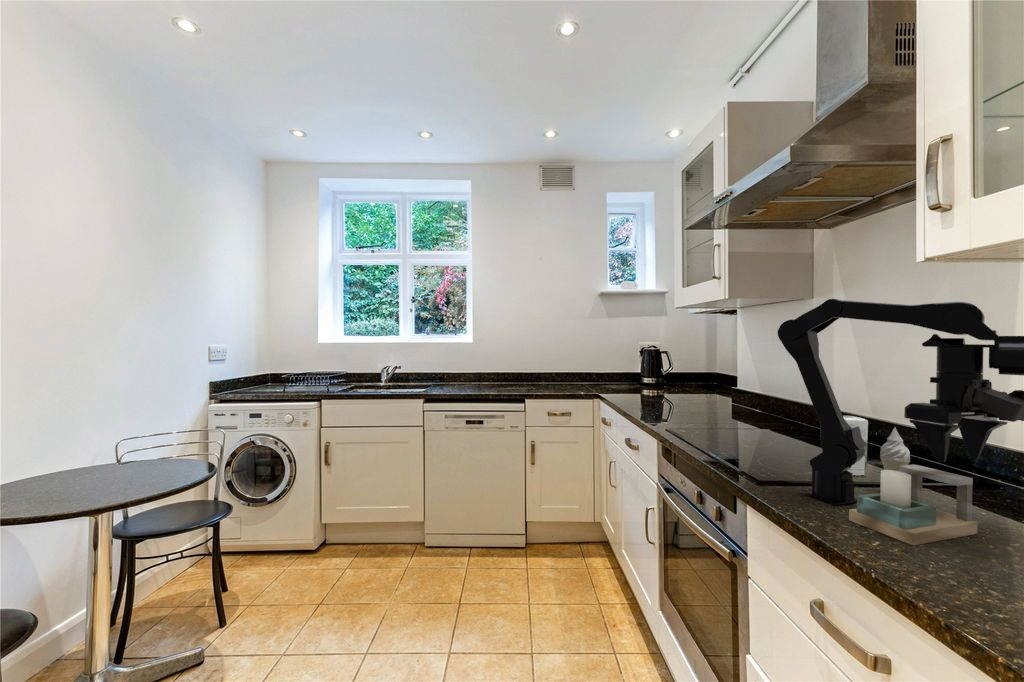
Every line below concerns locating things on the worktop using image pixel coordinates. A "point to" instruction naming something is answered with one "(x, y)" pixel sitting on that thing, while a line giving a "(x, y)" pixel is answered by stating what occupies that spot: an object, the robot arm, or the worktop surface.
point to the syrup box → (853, 422)
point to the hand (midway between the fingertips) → (957, 459)
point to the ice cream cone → (894, 452)
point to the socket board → (919, 511)
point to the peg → (895, 488)
